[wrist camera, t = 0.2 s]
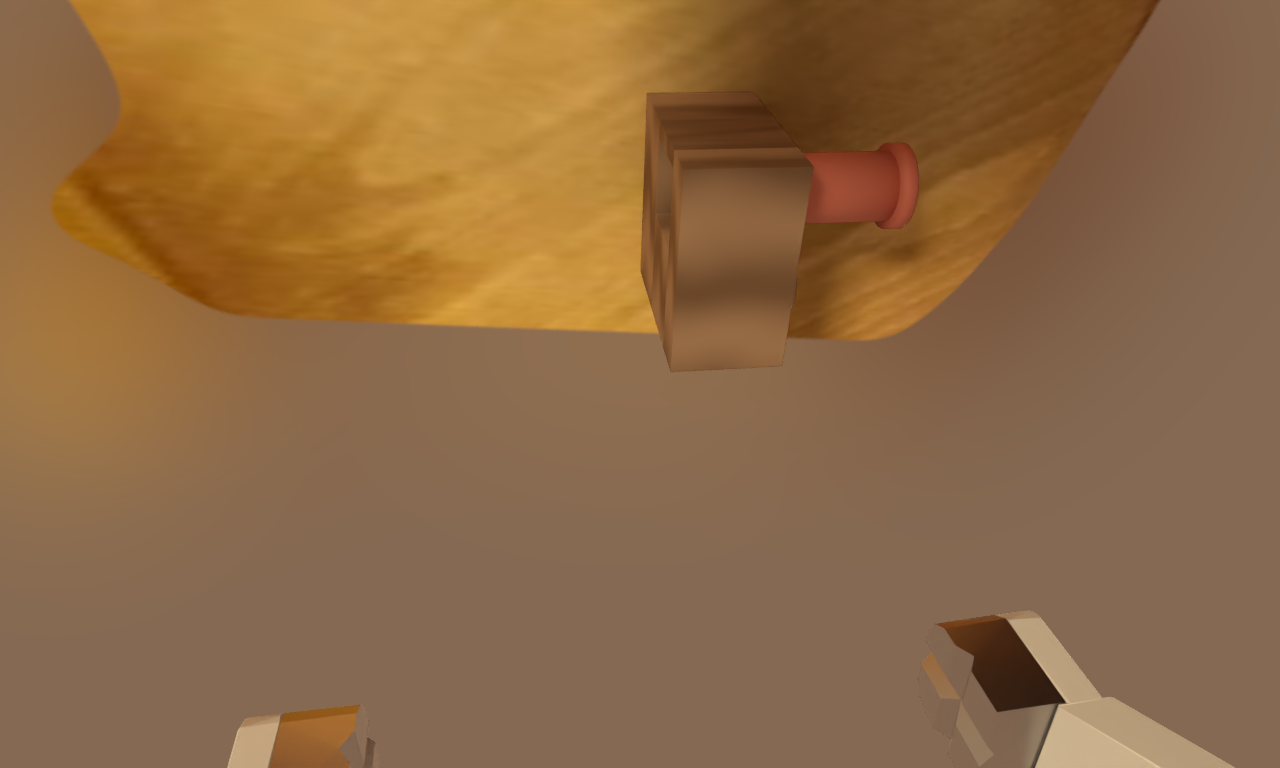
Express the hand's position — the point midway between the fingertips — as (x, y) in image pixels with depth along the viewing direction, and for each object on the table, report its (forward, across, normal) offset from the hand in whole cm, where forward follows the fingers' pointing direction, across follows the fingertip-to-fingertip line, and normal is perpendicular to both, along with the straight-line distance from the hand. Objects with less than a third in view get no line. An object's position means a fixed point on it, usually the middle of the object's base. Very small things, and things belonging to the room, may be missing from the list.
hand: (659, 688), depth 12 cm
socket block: (+40, -9, +6) cm, 41 cm away
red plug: (+35, -14, +4) cm, 38 cm away
